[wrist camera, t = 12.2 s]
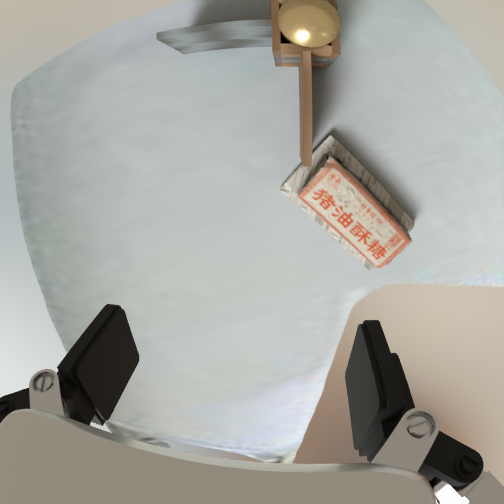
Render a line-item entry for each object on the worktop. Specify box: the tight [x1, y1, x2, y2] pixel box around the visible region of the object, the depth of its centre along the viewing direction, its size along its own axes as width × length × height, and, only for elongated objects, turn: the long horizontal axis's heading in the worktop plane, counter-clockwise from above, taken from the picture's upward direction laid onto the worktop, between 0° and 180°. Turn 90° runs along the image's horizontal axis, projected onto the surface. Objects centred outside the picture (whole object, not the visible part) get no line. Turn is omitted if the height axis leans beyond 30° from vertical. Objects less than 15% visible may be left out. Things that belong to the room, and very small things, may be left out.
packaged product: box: [280, 135, 415, 270], centre depth 37 cm, size 18×5×10 cm
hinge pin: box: [278, 0, 341, 49], centre depth 25 cm, size 6×6×10 cm
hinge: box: [157, 0, 340, 167], centre depth 29 cm, size 19×19×9 cm
